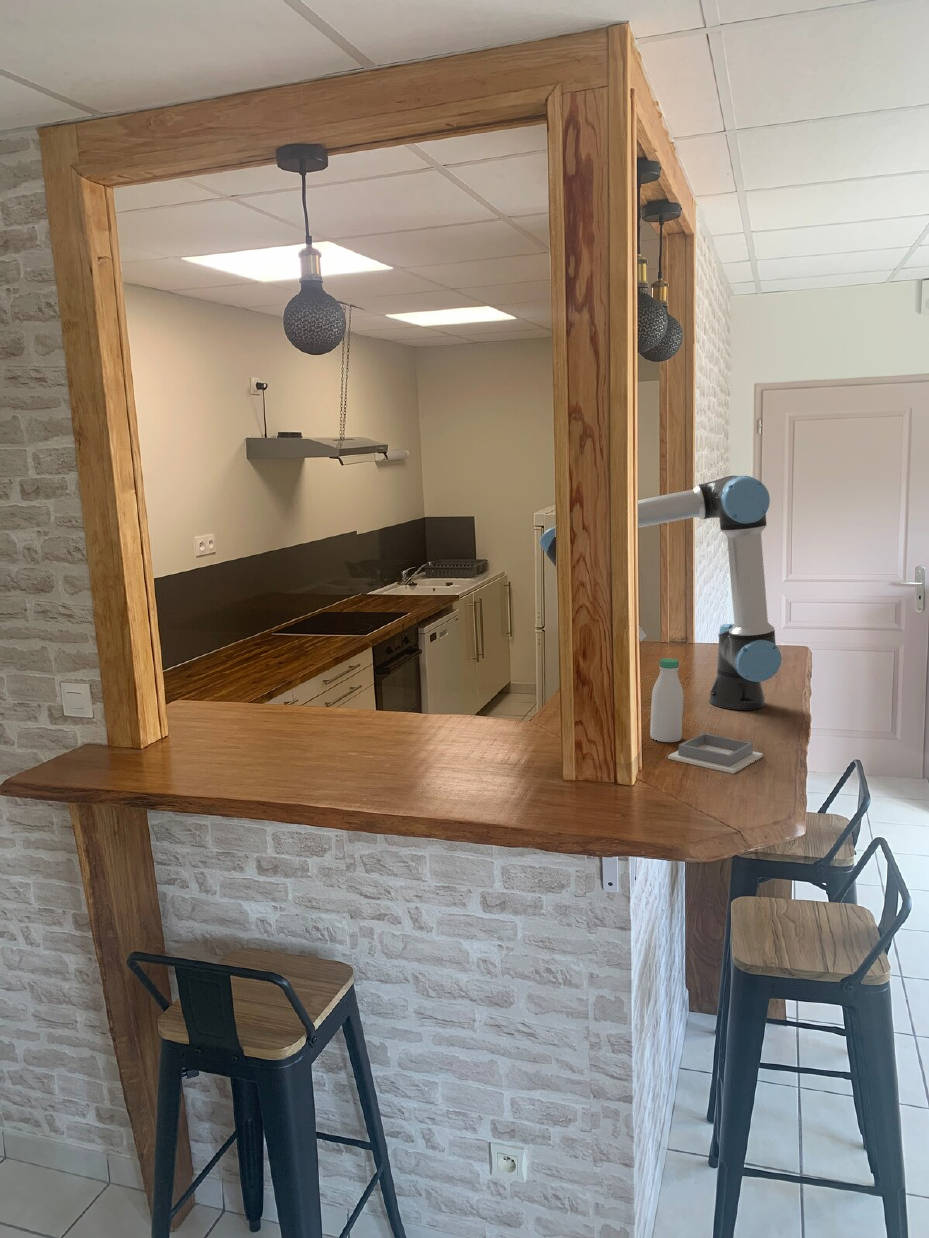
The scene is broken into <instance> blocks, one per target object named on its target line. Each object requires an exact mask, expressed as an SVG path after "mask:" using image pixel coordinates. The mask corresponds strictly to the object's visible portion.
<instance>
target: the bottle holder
mask: <svg viewBox="0 0 929 1238" xmlns="http://www.w3.org/2000/svg"><path fill="white" fill-rule="evenodd" d="M763 754H764V753H762V752H758V751H754V743H753V742H749V741H744V740H740V739H734V738H729V737H726V736H725V737H724V736H720V735H715V734H711V733H706V732H702V733H700V734H697V735H696V736H694V737H692V738H690V739H688V740H685V741H684V742H681V743H678V750H677V751H674V752H672V753H670V754H668V755H667V759H669V760H672V761H677V762H681V763H686V764H690V765H694V766H697V767H702V768H707V769H711V770H715V771H720V772H724V773H728V774H732V775H734V774H736V773H737V772H739V771H740V770H742V769H745V768H746V767H748V766H749V765H750V763H751V764H752V763H754V762H756V761H758V760H760V759H761V758H763ZM755 760H756V761H755Z"/></svg>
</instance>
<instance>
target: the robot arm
mask: <svg viewBox="0 0 929 1238" xmlns="http://www.w3.org/2000/svg"><path fill="white" fill-rule="evenodd" d="M770 499H771V498H770V493H769V491H768V488H767V487H766V485H764V483H763V482H761V480H759V479H757V478H755V477H753V476H749V475H729V476H724V477H721V478H719V479H716V480H712V481H708V482H705V483H701V484H696V485H695V486H694V487H693V489H687V490H683V491H679V492H673V493H668V494H663V495H657V496H653V497H649V498H642V499H637V500H638V528H637V529H640V528H645V527H651V526H656V525H661V524H666V523H672V522H677V521H682V520H687V519H692V518H699V519H701V520H706V519H707V520H708V519H712V518H715V519H716V518H718V519H719V528H720V532H722V533H723V534H724V535H725V536H726V539H727V540H726V541H727V549H728V550H727V551H728V552H727V553H728V563H729V576H730V587H731V598H732V611H733V612H732V614H733V623H724V624H721V626H720V628H719V633H718V649H717V650H718V652H717V668H716V669H717V671H716V672H717V673H716V678H715V680H714V682H713V685H712V687H711V689H710V692H709V699H708V700H709V703H710V704H711V705H713V706H715V707H718V708H723V709H729V710H734V711H735V710H737V711H752V710H760V709H762V708H764V707H765V704H766V701H765V700H766V699H765V698H766V697H765V694H764V690H763V686H762V683H761V682H765V681H768V680H770V679H772V678H773V677H774V676H775V675H776V674H778V671H779V670H780V668H781V666H782V659H783V658H782V652H781V650H780V649H779V647H778V646H777V644H776V633H775V627H774V626H773V625H772V624H771V623H770V622H769V620H768V619H769V617H768V605H767V592H766V582H765V581H766V578H765V567H764V566H765V565H764V556H763V554H764V553H763V552H764V551H763V541H762V532H763V531H764V530H765V529H766V527H767V512H768V510H769V508H770V503H771V502H770V501H771V500H770ZM555 526H556V525H554V526H552V527H551V528H549V529H547V530H546V531H545V532H544V533H543V534H542V535H541V536H540V539H539V545H540V547H541V548H542V549H543V551H544V552H545V555H546V556H547V558H549V560H550V561H551V562H552V564H553V565H554V567H555V568H556V537H555ZM646 637H647V634H646V633H645V631H644V630H643V629H642V627H641V626H640V625H639V639H640V642H639V643H641V642H642V641H643V640H644V639H646Z"/></svg>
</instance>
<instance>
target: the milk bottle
mask: <svg viewBox="0 0 929 1238" xmlns="http://www.w3.org/2000/svg"><path fill="white" fill-rule="evenodd" d="M679 666H680V661H679V660H678V659H675V658H661V659H660V660H659V670H660V671H659V674H658V677H657V679H656V681H655V684H654V685H653V688H652V692H651V705H650V706H651V707H650V708H651V709H650V727H649V728H650V729H649V731H650V735H649V736H650V738H651V740H653V739H654V741H656V740H657V741H656V742H662V743H677V742H679V741H681V740H682V738H683V737H682V736H683V717H684V690H683V686H682V683H681V681H680V677H679V674H678V673H679V672H678V670H679V668H680V667H679Z"/></svg>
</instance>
